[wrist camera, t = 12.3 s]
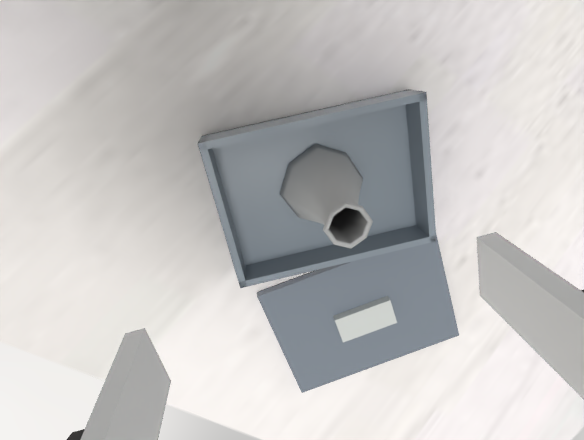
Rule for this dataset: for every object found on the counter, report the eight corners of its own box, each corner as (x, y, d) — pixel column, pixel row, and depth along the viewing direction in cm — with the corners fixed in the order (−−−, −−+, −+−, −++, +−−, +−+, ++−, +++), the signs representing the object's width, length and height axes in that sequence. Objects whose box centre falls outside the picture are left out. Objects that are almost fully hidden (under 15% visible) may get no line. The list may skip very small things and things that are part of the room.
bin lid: (257, 292, 39) (257, 301, 38) (431, 227, 39) (439, 233, 38) (300, 387, 45) (302, 398, 43) (455, 330, 44) (462, 339, 43)
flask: (265, 195, 35) (273, 241, 26) (312, 128, 34) (339, 151, 24) (328, 235, 37) (356, 291, 28) (375, 174, 36) (422, 211, 26)
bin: (202, 136, 33) (197, 143, 30) (408, 89, 34) (426, 92, 31) (240, 269, 38) (240, 288, 35) (420, 226, 39) (436, 241, 36)
